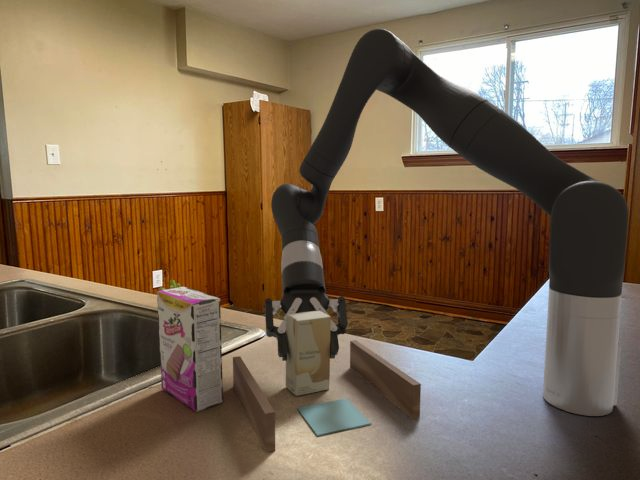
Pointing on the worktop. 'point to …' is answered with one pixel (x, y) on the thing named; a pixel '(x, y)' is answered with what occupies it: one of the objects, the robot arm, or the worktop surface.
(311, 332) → the skincare box
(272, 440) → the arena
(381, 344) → the worktop surface
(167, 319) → the candy bar box
